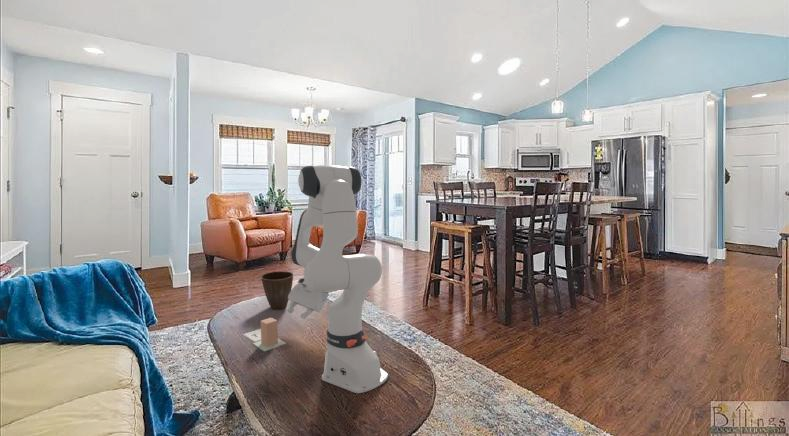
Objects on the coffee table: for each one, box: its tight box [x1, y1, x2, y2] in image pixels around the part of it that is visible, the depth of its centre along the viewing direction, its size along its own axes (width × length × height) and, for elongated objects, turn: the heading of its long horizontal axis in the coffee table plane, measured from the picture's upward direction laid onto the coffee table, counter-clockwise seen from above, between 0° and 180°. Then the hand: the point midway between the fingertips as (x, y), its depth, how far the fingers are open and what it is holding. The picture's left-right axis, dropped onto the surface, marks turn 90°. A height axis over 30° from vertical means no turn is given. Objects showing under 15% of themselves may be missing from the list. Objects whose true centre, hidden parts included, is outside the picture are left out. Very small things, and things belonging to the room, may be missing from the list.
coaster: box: [252, 338, 287, 352], centre depth 148 cm, size 9×9×1 cm
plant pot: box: [261, 271, 294, 310], centre depth 188 cm, size 15×15×16 cm
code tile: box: [242, 328, 261, 343], centre depth 157 cm, size 10×10×1 cm
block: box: [260, 317, 279, 347], centre depth 147 cm, size 4×4×9 cm
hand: (295, 315), depth 155 cm, fingers open, 8 cm apart
